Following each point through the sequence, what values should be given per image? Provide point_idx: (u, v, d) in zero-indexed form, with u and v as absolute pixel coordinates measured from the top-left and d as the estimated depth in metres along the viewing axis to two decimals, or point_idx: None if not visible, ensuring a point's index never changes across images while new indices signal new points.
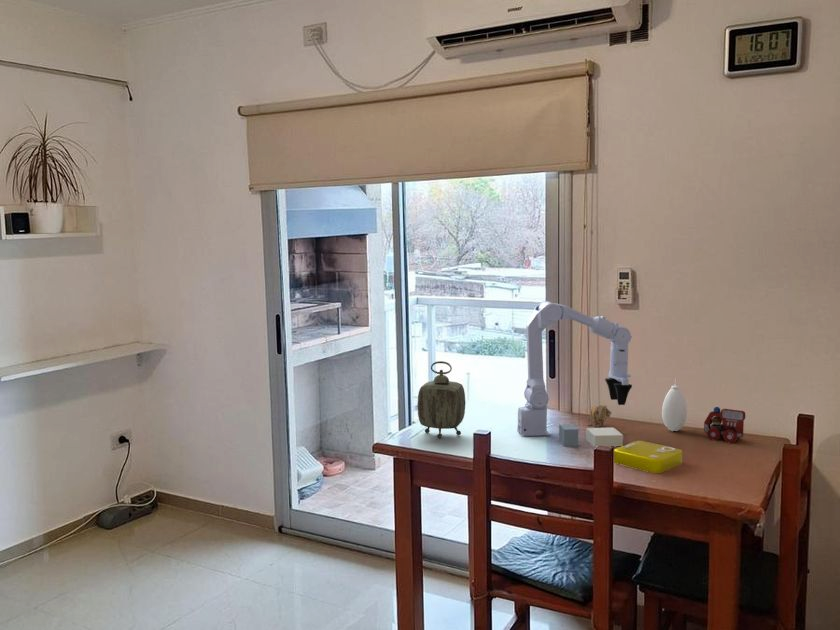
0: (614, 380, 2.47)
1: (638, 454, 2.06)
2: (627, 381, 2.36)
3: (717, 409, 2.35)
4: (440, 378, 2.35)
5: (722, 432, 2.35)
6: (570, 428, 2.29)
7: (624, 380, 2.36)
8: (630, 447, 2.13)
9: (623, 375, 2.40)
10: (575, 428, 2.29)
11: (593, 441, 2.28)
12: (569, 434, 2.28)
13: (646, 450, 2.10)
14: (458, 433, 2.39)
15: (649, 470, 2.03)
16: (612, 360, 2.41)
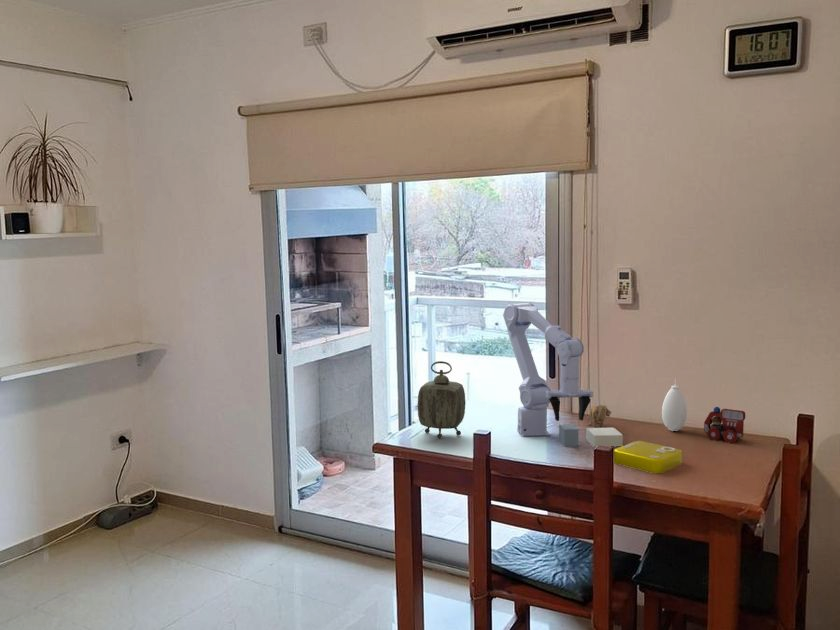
0: (580, 399, 2.30)
1: (638, 454, 2.06)
2: (547, 394, 2.28)
3: (717, 409, 2.35)
4: (440, 378, 2.35)
5: (722, 432, 2.35)
6: (570, 428, 2.29)
7: (546, 392, 2.29)
8: (630, 447, 2.13)
9: (561, 390, 2.28)
10: (575, 428, 2.29)
11: (593, 441, 2.28)
12: (569, 434, 2.28)
13: (646, 450, 2.10)
14: (458, 433, 2.39)
15: (649, 470, 2.03)
16: None
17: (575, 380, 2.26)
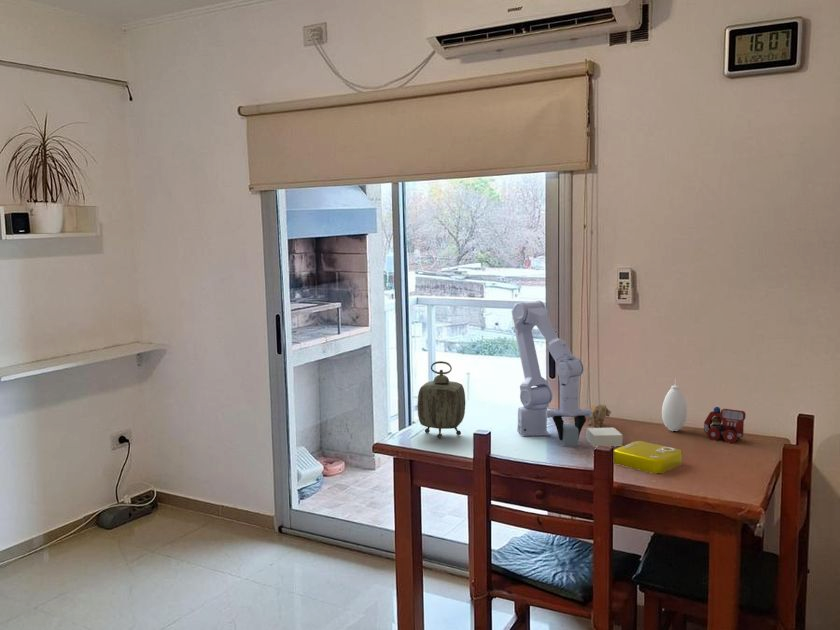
0: (576, 418, 2.30)
1: (638, 454, 2.06)
2: (546, 413, 2.29)
3: (717, 409, 2.35)
4: (440, 378, 2.35)
5: (722, 432, 2.35)
6: (570, 428, 2.29)
7: (546, 412, 2.30)
8: (630, 447, 2.13)
9: (561, 410, 2.29)
10: (575, 428, 2.29)
11: (593, 441, 2.28)
12: (569, 434, 2.28)
13: (646, 450, 2.10)
14: (458, 433, 2.39)
15: (649, 471, 2.02)
16: None
17: (575, 400, 2.27)
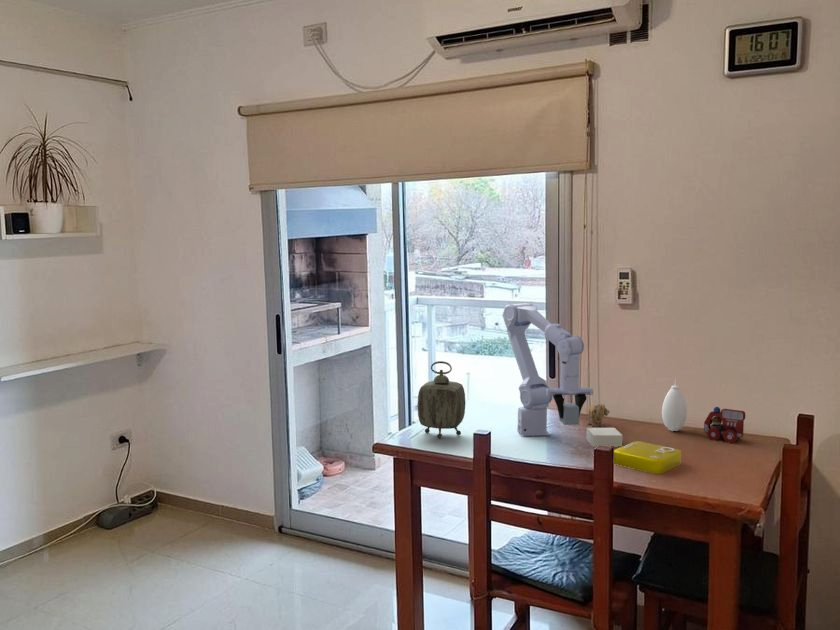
0: (577, 396, 2.30)
1: (638, 455, 2.06)
2: (547, 392, 2.28)
3: (717, 409, 2.35)
4: (440, 378, 2.35)
5: (722, 432, 2.35)
6: (571, 406, 2.28)
7: (546, 390, 2.29)
8: (629, 448, 2.12)
9: (561, 388, 2.28)
10: (576, 406, 2.28)
11: (592, 441, 2.28)
12: (570, 412, 2.27)
13: (645, 451, 2.10)
14: (458, 433, 2.39)
15: (650, 471, 2.02)
16: None
17: (575, 378, 2.26)
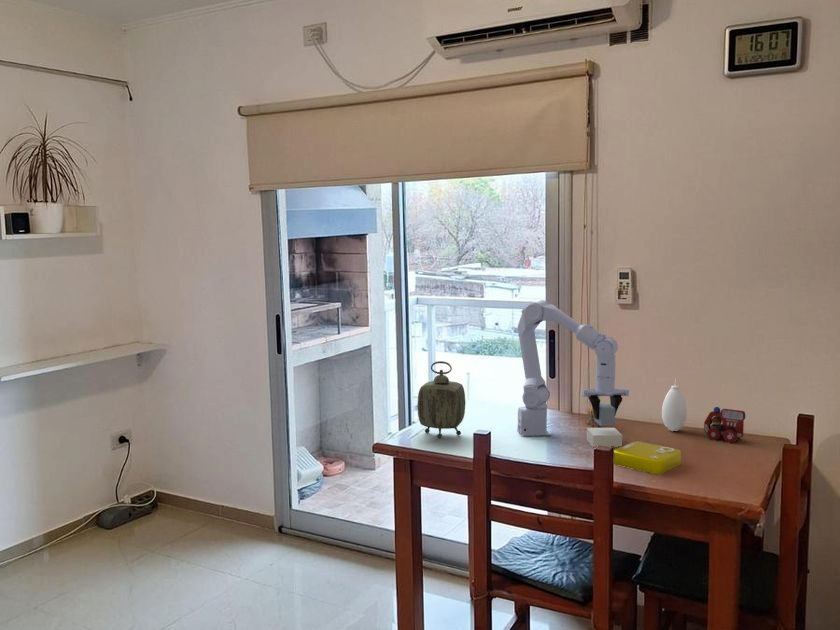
0: (612, 397, 2.30)
1: (638, 455, 2.05)
2: (583, 393, 2.29)
3: (717, 409, 2.35)
4: (440, 378, 2.35)
5: (722, 432, 2.35)
6: (607, 407, 2.29)
7: (582, 391, 2.30)
8: (629, 448, 2.12)
9: (597, 389, 2.29)
10: (612, 407, 2.29)
11: (592, 441, 2.28)
12: (606, 413, 2.28)
13: (645, 451, 2.09)
14: (458, 433, 2.39)
15: (650, 471, 2.02)
16: None
17: (611, 379, 2.27)
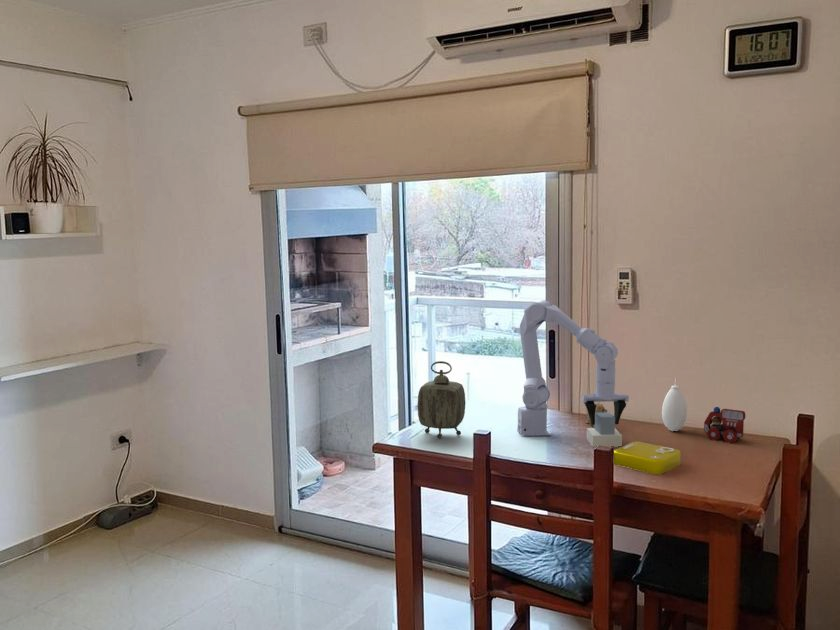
0: (616, 403, 2.31)
1: (638, 455, 2.05)
2: (583, 398, 2.29)
3: (717, 409, 2.35)
4: (440, 378, 2.35)
5: (722, 432, 2.35)
6: (606, 416, 2.29)
7: (582, 396, 2.30)
8: (629, 448, 2.12)
9: (597, 394, 2.29)
10: (611, 416, 2.29)
11: (592, 441, 2.28)
12: (606, 422, 2.28)
13: (645, 451, 2.09)
14: (458, 433, 2.39)
15: (650, 471, 2.02)
16: (596, 379, 2.30)
17: (611, 384, 2.27)
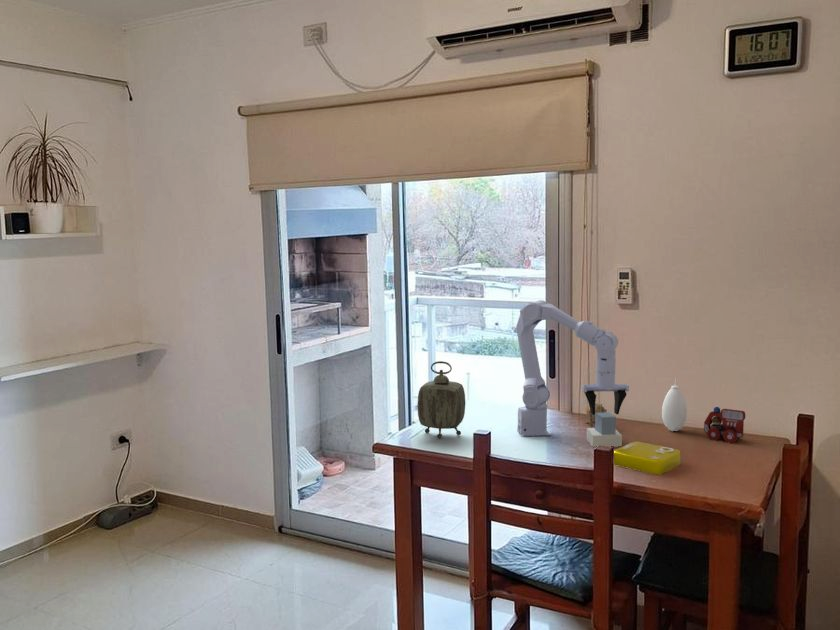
0: (616, 393, 2.30)
1: (638, 455, 2.05)
2: (583, 388, 2.29)
3: (717, 409, 2.35)
4: (440, 378, 2.35)
5: (722, 432, 2.35)
6: (607, 416, 2.29)
7: (582, 386, 2.30)
8: (629, 448, 2.12)
9: (597, 384, 2.29)
10: (612, 416, 2.29)
11: (592, 441, 2.28)
12: (606, 422, 2.28)
13: (645, 451, 2.09)
14: (458, 433, 2.39)
15: (650, 471, 2.02)
16: None
17: (611, 374, 2.27)
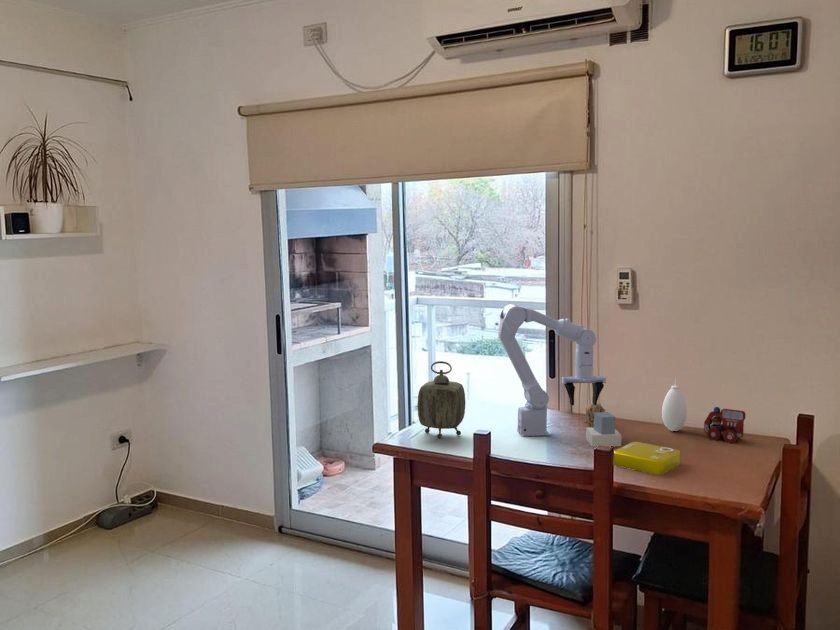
0: (594, 384, 2.43)
1: (638, 456, 2.05)
2: (562, 380, 2.41)
3: (717, 409, 2.35)
4: (440, 378, 2.35)
5: (722, 432, 2.35)
6: (607, 416, 2.29)
7: (562, 378, 2.42)
8: (628, 448, 2.12)
9: (576, 376, 2.41)
10: (611, 416, 2.29)
11: (591, 440, 2.29)
12: (606, 422, 2.28)
13: (645, 451, 2.09)
14: (458, 433, 2.39)
15: (650, 472, 2.01)
16: (577, 362, 2.41)
17: (589, 367, 2.40)
